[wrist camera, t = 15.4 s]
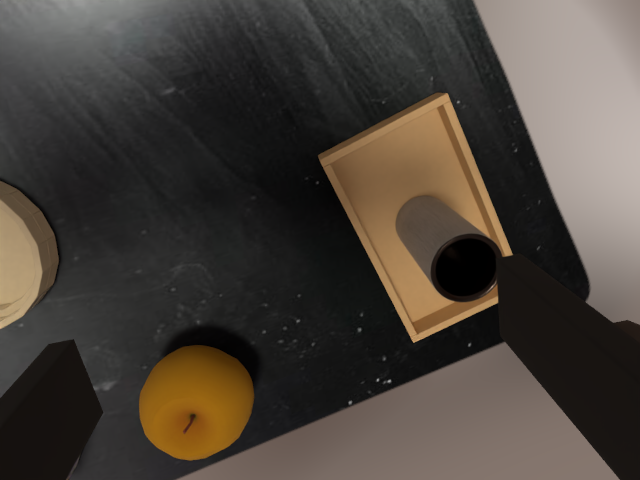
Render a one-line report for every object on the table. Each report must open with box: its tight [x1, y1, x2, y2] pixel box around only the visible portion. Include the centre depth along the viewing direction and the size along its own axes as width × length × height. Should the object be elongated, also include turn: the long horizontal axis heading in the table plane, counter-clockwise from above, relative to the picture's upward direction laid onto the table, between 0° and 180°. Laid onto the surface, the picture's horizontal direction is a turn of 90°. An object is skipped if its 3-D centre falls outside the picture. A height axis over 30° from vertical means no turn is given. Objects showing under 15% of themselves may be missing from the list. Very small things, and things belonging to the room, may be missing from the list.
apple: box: [139, 345, 254, 460], centre depth 38 cm, size 8×8×9 cm
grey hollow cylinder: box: [396, 196, 503, 302], centre depth 33 cm, size 4×4×10 cm
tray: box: [318, 93, 513, 343], centre depth 38 cm, size 17×10×3 cm, turn 27°
